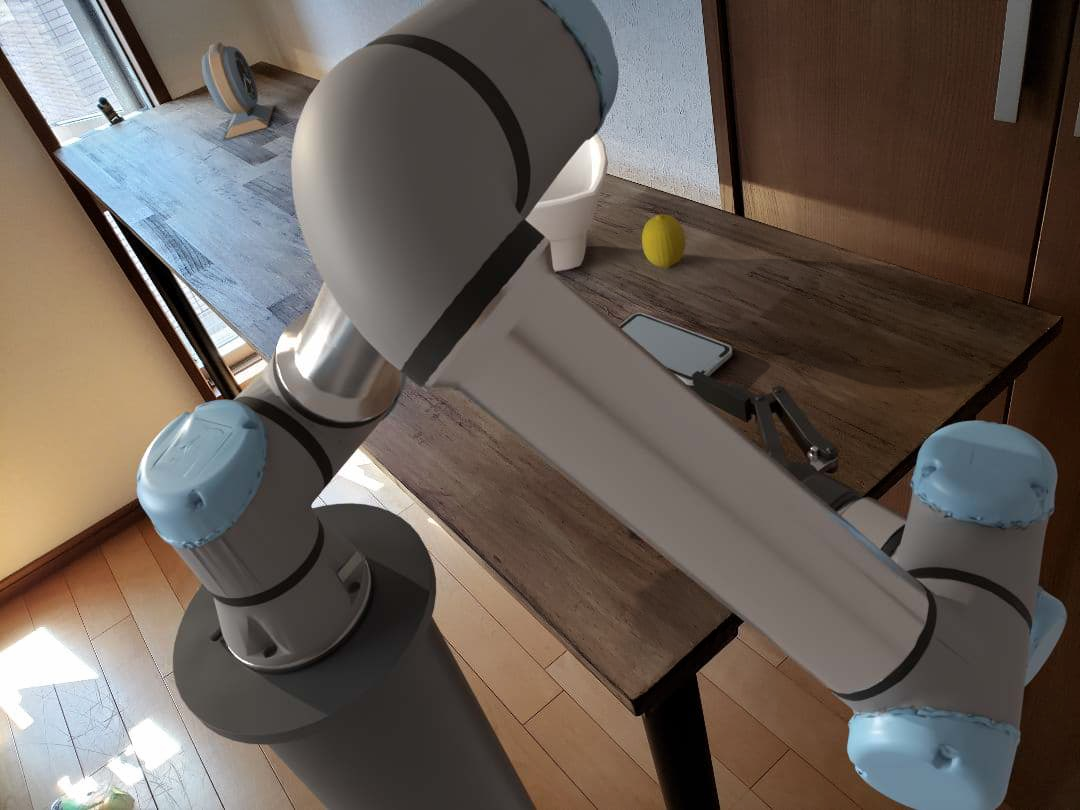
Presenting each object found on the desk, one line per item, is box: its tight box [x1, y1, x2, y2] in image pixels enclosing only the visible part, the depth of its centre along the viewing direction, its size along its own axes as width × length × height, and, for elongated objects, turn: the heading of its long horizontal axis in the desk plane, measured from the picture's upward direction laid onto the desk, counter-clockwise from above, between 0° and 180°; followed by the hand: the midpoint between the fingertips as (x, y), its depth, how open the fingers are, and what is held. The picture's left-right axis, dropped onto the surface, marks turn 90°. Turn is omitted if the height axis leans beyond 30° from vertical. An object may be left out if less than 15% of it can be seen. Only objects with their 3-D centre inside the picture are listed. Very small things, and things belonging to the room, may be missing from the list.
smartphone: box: [618, 312, 733, 387], centre depth 99 cm, size 7×1×15 cm
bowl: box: [525, 133, 609, 273], centre depth 115 cm, size 19×19×14 cm
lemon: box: [641, 213, 686, 269], centre depth 109 cm, size 6×6×8 cm
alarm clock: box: [201, 42, 274, 140], centre depth 187 cm, size 14×10×18 cm
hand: (646, 421), depth 80 cm, fingers open, 13 cm apart
